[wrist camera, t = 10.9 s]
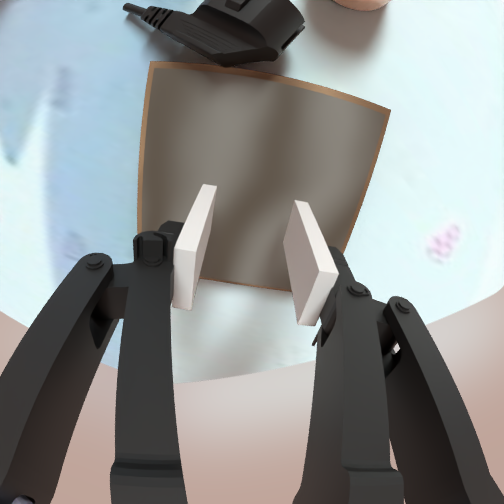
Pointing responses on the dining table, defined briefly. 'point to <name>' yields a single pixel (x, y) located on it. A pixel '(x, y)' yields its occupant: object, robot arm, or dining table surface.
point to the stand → (253, 161)
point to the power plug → (229, 28)
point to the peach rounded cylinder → (362, 4)
